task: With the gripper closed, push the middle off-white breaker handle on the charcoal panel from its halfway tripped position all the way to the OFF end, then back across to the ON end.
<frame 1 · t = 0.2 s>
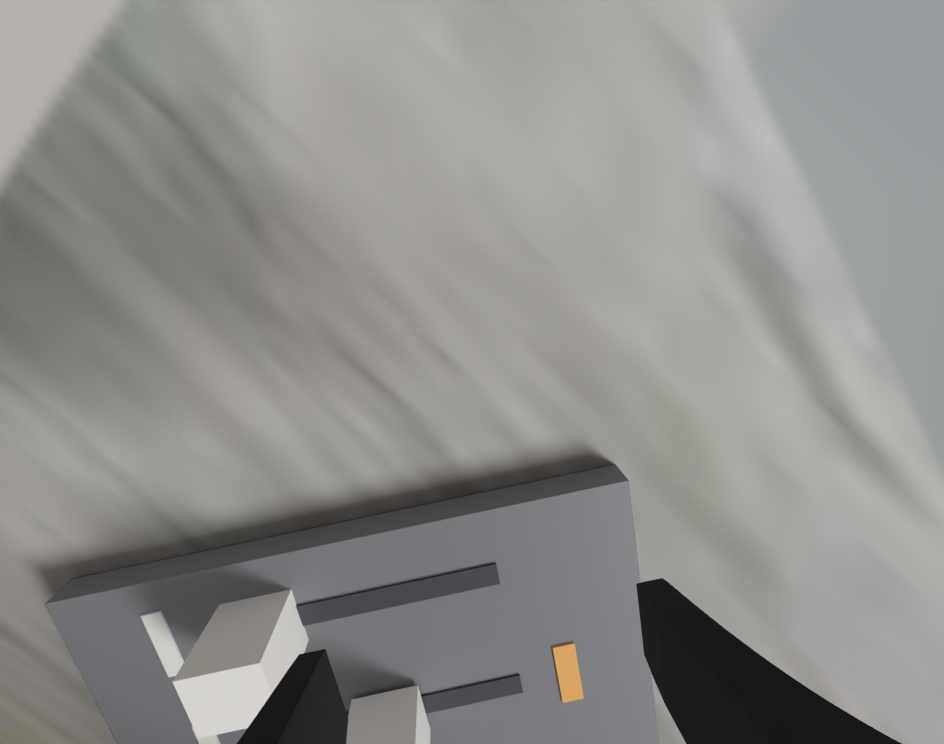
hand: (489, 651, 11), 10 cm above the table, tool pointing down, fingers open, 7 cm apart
breaker panel: (394, 681, 23), on the table
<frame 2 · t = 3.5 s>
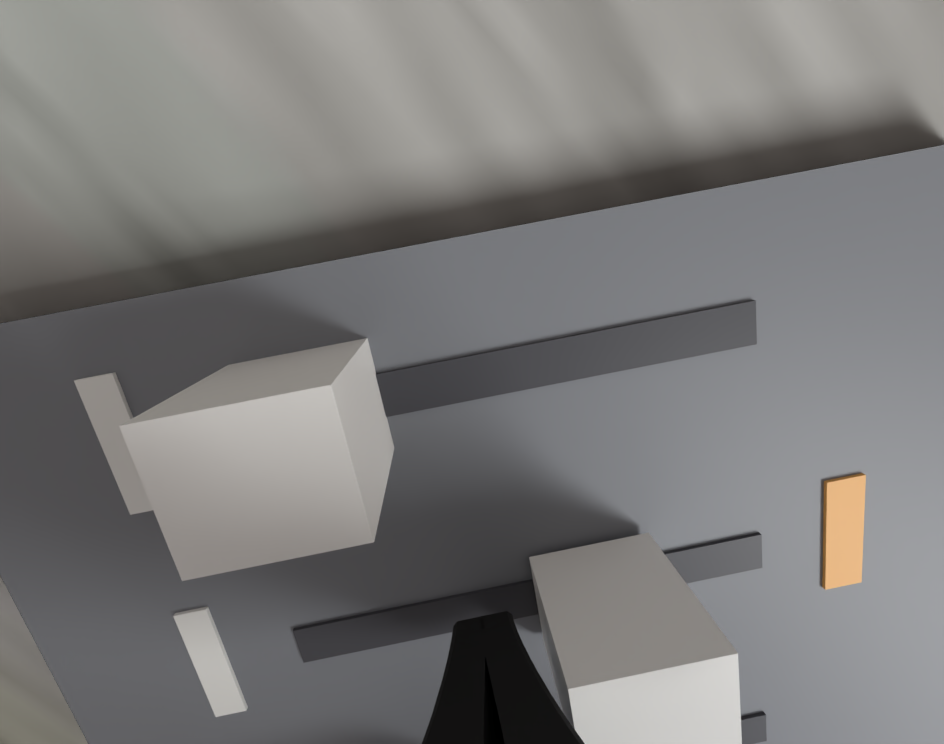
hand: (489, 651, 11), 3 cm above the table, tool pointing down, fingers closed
breaker panel: (521, 558, 14), on the table
tripped handle: (621, 646, 10), point 4 cm above the table, slide at 2.4 cm, touching gripper
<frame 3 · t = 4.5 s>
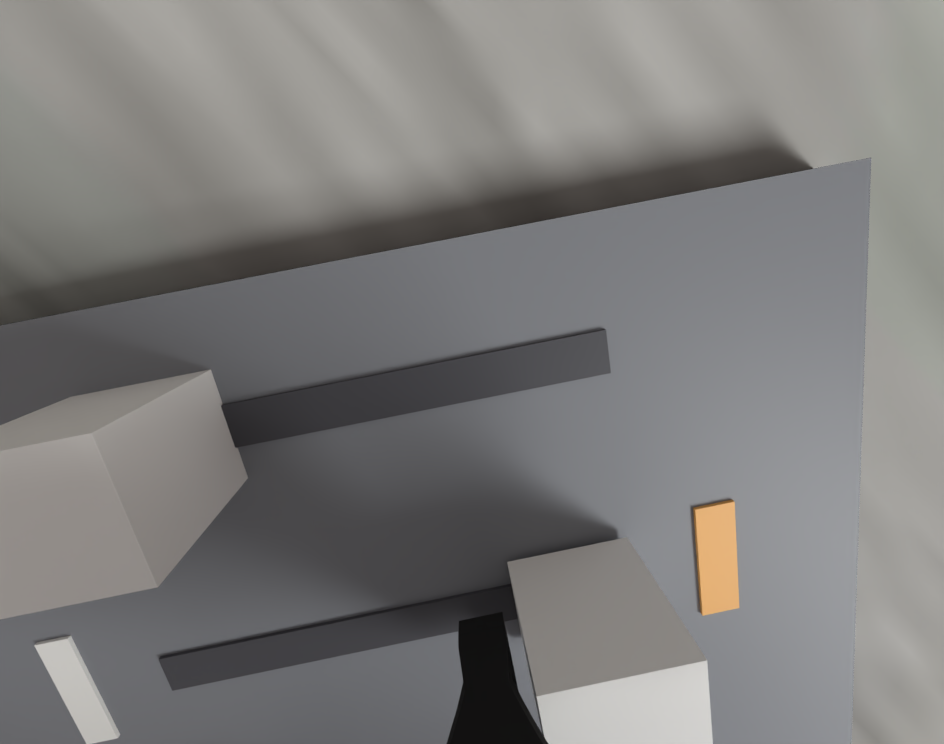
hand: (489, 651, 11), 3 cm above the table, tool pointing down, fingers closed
breaker panel: (406, 583, 14), on the table
tripped handle: (597, 652, 10), point 4 cm above the table, slide at -0.4 cm, touching gripper
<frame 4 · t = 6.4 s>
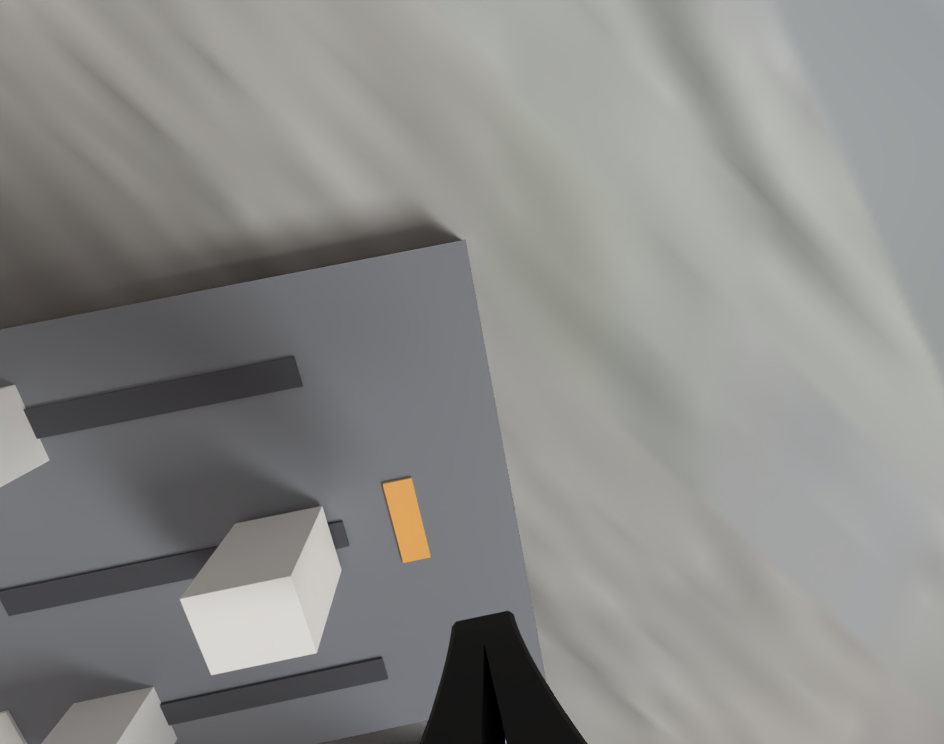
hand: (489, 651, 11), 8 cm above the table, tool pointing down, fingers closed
breaker panel: (197, 541, 18), on the table
tripped handle: (272, 582, 15), point 4 cm above the table, slide at -0.1 cm
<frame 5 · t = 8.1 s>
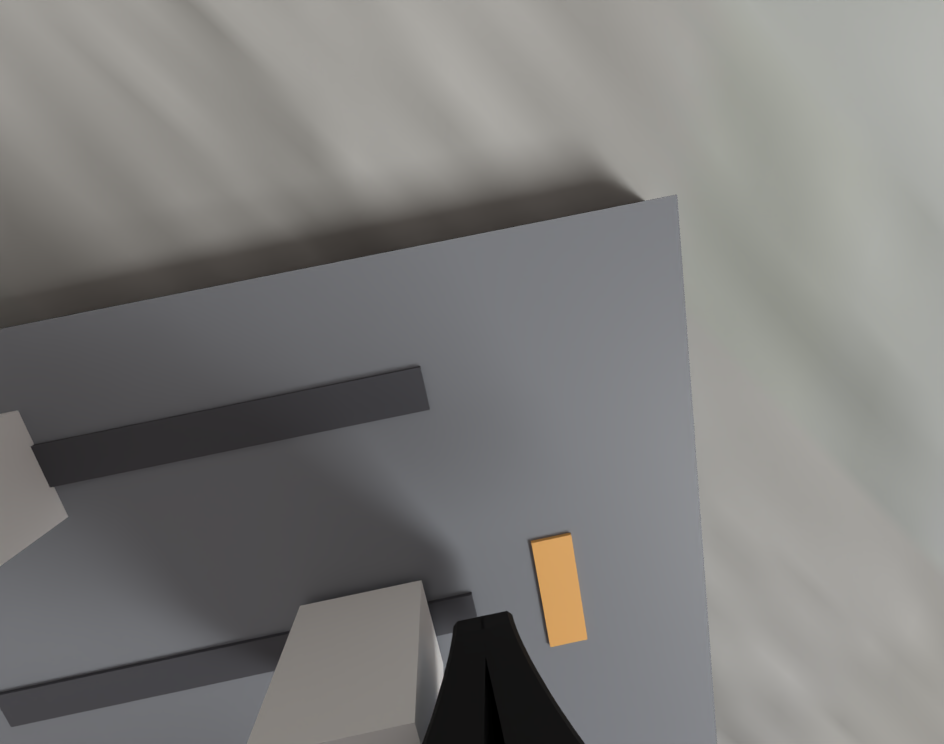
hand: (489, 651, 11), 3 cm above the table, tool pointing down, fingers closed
breaker panel: (263, 613, 13), on the table
tripped handle: (362, 702, 10), point 3 cm above the table, slide at 0.6 cm, touching gripper
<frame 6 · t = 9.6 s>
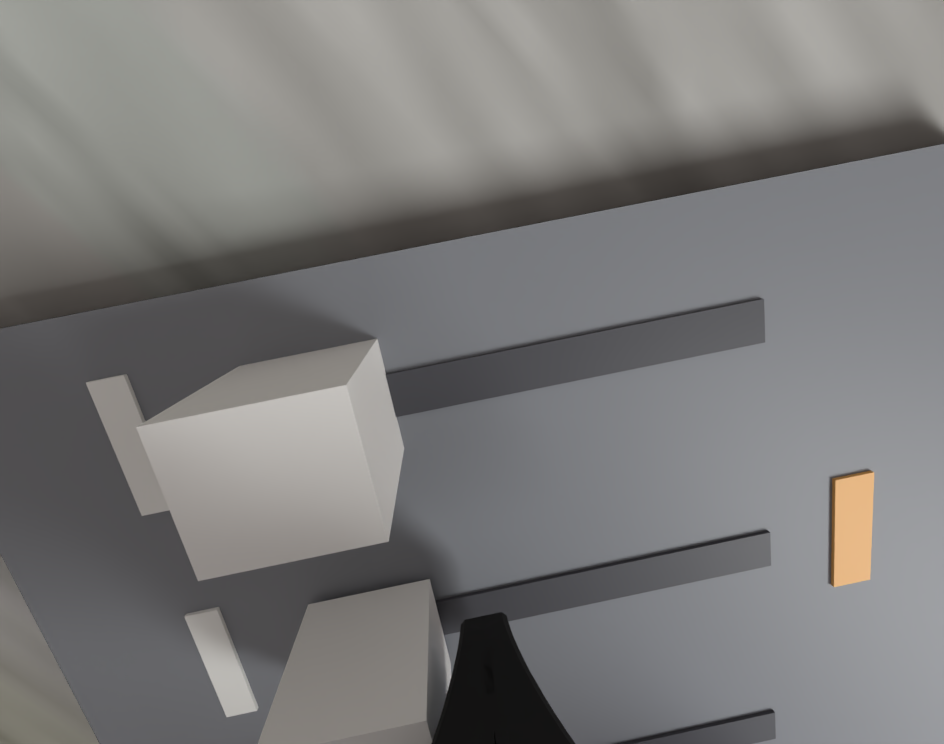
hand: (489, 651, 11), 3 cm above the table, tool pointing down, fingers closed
breaker panel: (530, 558, 14), on the table
tripped handle: (372, 700, 10), point 4 cm above the table, slide at 8.1 cm, touching gripper
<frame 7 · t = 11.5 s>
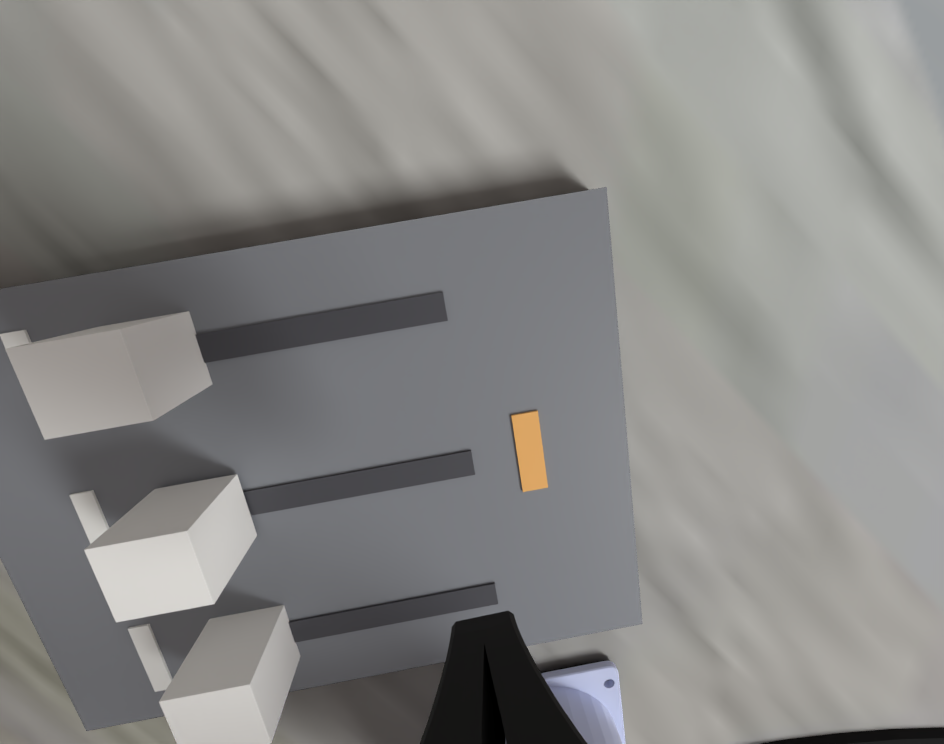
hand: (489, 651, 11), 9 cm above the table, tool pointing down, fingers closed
breaker panel: (325, 472, 19), on the table
tripped handle: (182, 541, 16), point 4 cm above the table, slide at 8.1 cm
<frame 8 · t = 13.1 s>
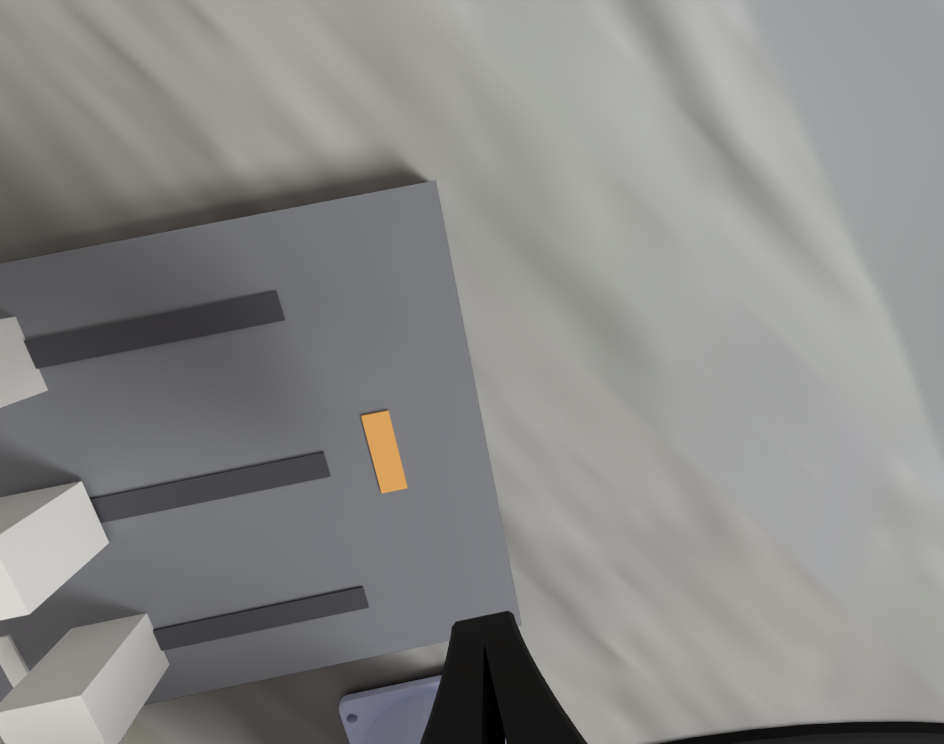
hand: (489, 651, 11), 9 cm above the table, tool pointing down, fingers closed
breaker panel: (188, 477, 19), on the table
tripped handle: (12, 551, 16), point 3 cm above the table, slide at 8.1 cm
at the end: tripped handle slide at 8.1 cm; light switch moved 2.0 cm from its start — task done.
